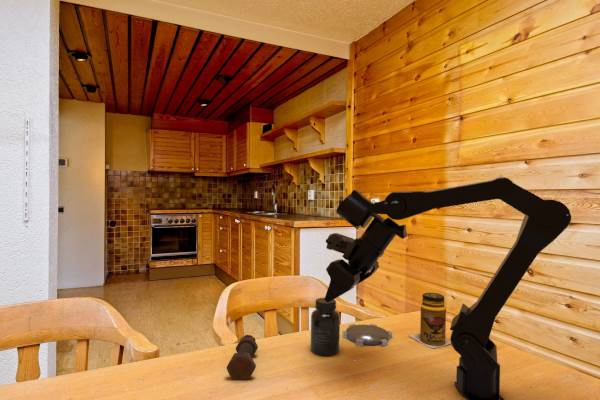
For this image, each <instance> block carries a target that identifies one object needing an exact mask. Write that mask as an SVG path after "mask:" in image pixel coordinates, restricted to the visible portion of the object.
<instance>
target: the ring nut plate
mask: <svg viewBox="0 0 600 400" xmlns="http://www.w3.org/2000/svg"><path fill="white" fill-rule="evenodd" d="M342 338H343V339H347V340H348V341H350V342H353V343H354V344H355V345H356V346H357V347H358V346H359V347H364V346H380V347H385V346H388V345H389V344H388V343H389V340H390V339H393V333H392V331H391V330H386V329H384V328H383V327H380V326H378V324H373V323H370V324H355V323H352V324H349V325H348V327H347V328H346V330H342Z"/></svg>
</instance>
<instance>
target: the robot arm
mask: <svg viewBox="0 0 600 400" xmlns="http://www.w3.org/2000/svg"><path fill="white" fill-rule="evenodd" d="M492 200H500V201H501V202H503V203H505V204H507V206H510V207H511V208H513V209H515V210H516V211H518V212H520V213H521V214H524V217H523V219H522V222H521V225H520V227H519V230H518V234H517V236H516V240H515V241H514V243H513V245H512V246H511V248H510V250H509V251H508V252H507V254H506V256H505V257H504V258H503V260H502V262H501V264H499V266H498V268H497V269H496V271H495V272H494V274H493V276H492V277H491V279H490V280H489V282H488V283H487V285H486V286H485V288H484V290H483V291H482V293H481V294H480V296H479V297H478V299H477V301H476V302H474V304H472V305H471V306H470V307H468V306H467V305H466V304H465V303H462V304H461V307H460V310H459V312H458V314H456V316H454V317H453V318H452V320H451V324H450V328H449V330H450V331H451V334H450V340H449V341H451V344H450V345H451V346H452V348H453V350H454V351H455V352H456V353H458V354H459V358H458V365H457V366H456V378H455V379H456V381H455V382H454V386H455V388H457V389H458V390H459V392H460V393H461V394H462V396H463V397H464V398H465V399H466V400H505V398H504V397H503V396H502V395H501V394H500V393H501V389H500V386H501V364H500V363H499V362H498V361H499V360H498V349H497V348H498V347H497V345H496V344H495V342H494V341H492V339H491V338H490V336H491V333H492V330H493V327H494V323H495V320H496V318H497V316H498V315H499V313H500V312H501V311H502V309H503V307H504V305H505V304H506V303H507V301H508V300H509V299H510V297H511V295H512V294H513V292H514V291H515V290H516V288H517V286H518V285H519V283H520V281H522V279H523V277H524V275H525V274H526V273H527V271H528V270H529V268H530V266H531V265H532V264H533V262H534V261H535V259H536V258H537V256H538V255H539V254H540V253H541V251H543V250H545V248H547V247H548V246H549V245H550V244H551V243H553V242H554V241H555V240H556V239H557V238H558V237H559V236H560V235H561V234H562V233H563V232H564V231H565V230H566V229H567V228H568V227H569V226H570V224H571V221H572V215H571V210H570V209H569V207H568V206H567V205H566V204H565V203H563V202H561V201H559V200H556V199H544V198H541V197H540V196H538V195H537V194H535V193H533V192H531V191H529V190H527V189H525V188H524V187H522V186H520V185H518V184H516V183H514V182H513V180H511V179H510V178H508V177H504V176H501V177H500V176H499V177H496V178H494V179H489V180H485V181H480V182H474V183H468V184H461V185H457V186H452V187H447V188H439V189H436V190H429V191H427V190H426V191H425V190H424V191H422V190H421V191H420V190H419V191H418V190H416V191H415V190H414V191H405V190H403V191H392V192H390V193H389V194H387V196H386V197H385V198H384V199H383V200H381V201H374V202H372V201H371V200H370V199H369V198H367V197H366V196H364V195H363V194H362V192H360V191H359V190H357V189H353V190H351V192H350V193H349V194H348V195H347V196H346V197H345V198H344V199H343V200H342V201H340V202H339V204H338V206H337V208H336V212H335V213H336V215H338V216H340V218H342V219H343V220H344V221H345V222H347V223H348V224H350V225H351V226H352V227H353V228H355V229H356V230H357V229H359V228H362V229H364V228H365V230H364V232H363V233H362V234H361V236H360V237H356V238H355V239H354V238H353V237H350V236H348V235H344V234H341V233H337V232H335V233H333V232H332V233H330V234H329V235H328V237H327V238H326V239H325V243H326V249H327V250H332V251H334V252H338V253H340V254H342V256H341V257H342V258H343V259H336V260H335V259H334V260H333V261H331V262H329V264H328V266H327V267H326V268H325V270H326V273H327V274H328V276H329V278H330V279H329V280H330V281H329V284H328V288H327V289H326V292H325V293H326V294H325V296H324V298H325V299H324V300H325V301H326V302H327V303H329V302H330V301H332V300H336V299H338V298H339V297H340V296H343V295H344V294H346V293H348V292H349V291H351V290H353V289H354V288H355V287H356V286H357V285H359V284H360V283H362V282H364V281H365V280H367V279H369V278H370V277H371V276H373V274H374V273H376V272H377V270H378V269H379V268H380V265H379V261H378V260H379V259H380V258H381V257H383V255H384V254H385V250H386V249H387V248H388V247H389V246H390V244H391V243H392V241H393V240H394V239H395V237H396V236H398V237H399V238H400V239H402V240H403V239H406V238H408V236H409V235H408V233H407V225H406V223H405V224H399V223H397V222H396V221H401V220H402V221H403V220H405V219H408V218H409V219H410V218H412V217H414V216H415V217H416V216H417V215H420V214H424V213H426V212H429V211H433V210H435V209H441V208H448V207H455V206H460V205H468V204H474V203H479V202H485V201H492ZM381 215H386V216H387V217H386V218H384V217H383V216H381ZM345 260H346V261H347V262H346V261H345Z"/></svg>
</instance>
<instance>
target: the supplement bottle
mask: <svg viewBox="0 0 600 400" xmlns="http://www.w3.org/2000/svg"><path fill="white" fill-rule="evenodd" d="M324 299H325V297H318V298H316V299H315V306H314V307H315V310H313V311H312V313H311V314H310V315H311V317H310V350H311V352H312V353H313V354H315V355H317V356H322V357H331V356H336V355H337V354H338V353H339V351H340V334H341V332H340V331H341V330H340V329H341V325H340V324H341V317H340V313H339V312H338V311H337V310H336V309H337V301H336V299H334V300H332V301H330V302H329V303H327V302H326V301H325V300H324Z"/></svg>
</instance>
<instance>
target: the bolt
mask: <svg viewBox="0 0 600 400" xmlns="http://www.w3.org/2000/svg"><path fill="white" fill-rule="evenodd" d="M258 348H259V346H258V343H257V342H256V338H255V337H254V336H253V335H251V334H250V335H249V334H245V335H244V336H242V337H241V338H240V340H239V341H238V343H237V345H236V347H235V351H236V352H234V353H233V355H232V356H231V359H230V360H229V361H228V363H227V365H226V371H227V374H228V375H229V376H230V379H232V380H233V381H237V382H239V381H240V382H241V381H249V380H250V379H251V377H252V376H253V373H254V372H255V369H256V367H257V364H256V363H255V361H254V359H253V357H254V356H255V354H256V352H257V351H258Z"/></svg>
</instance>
